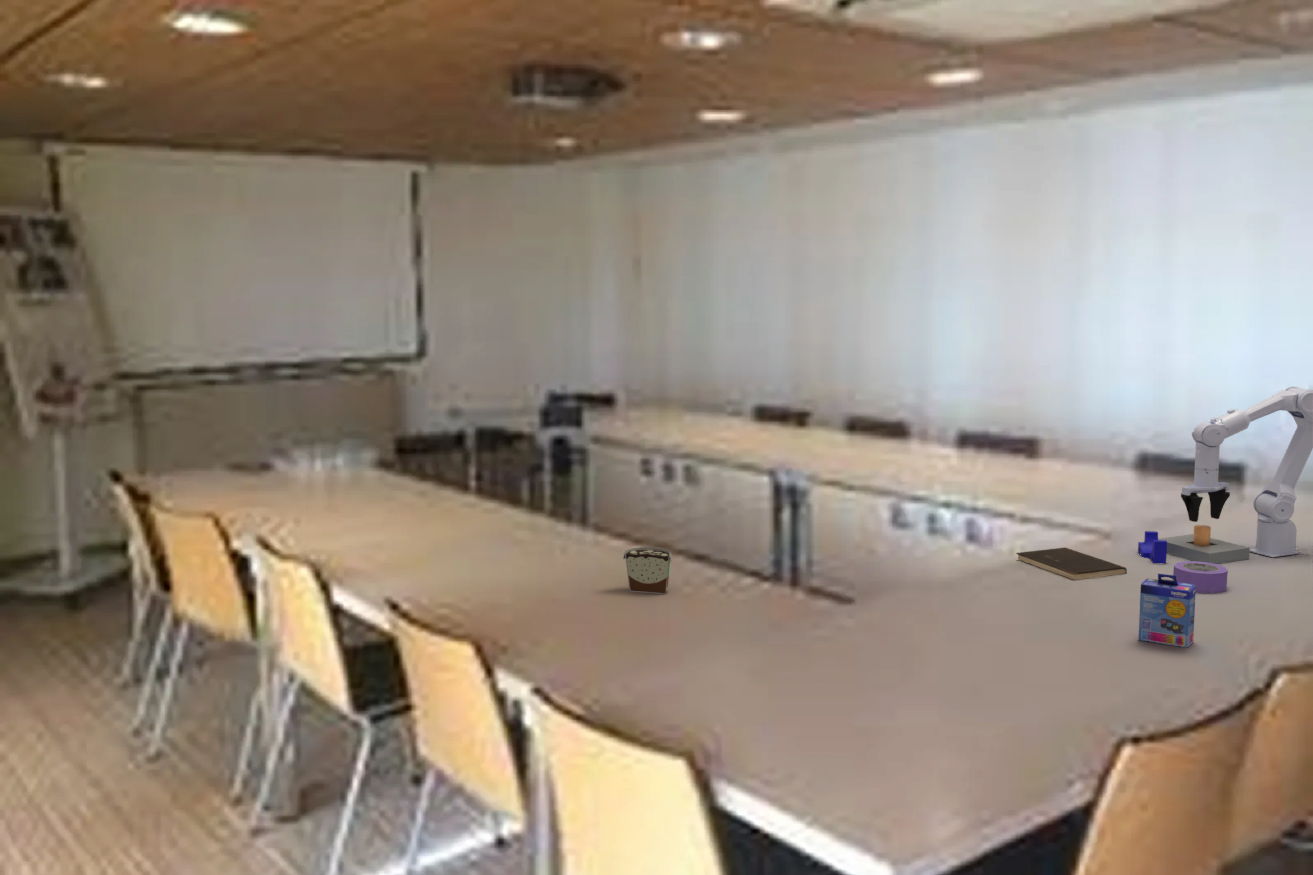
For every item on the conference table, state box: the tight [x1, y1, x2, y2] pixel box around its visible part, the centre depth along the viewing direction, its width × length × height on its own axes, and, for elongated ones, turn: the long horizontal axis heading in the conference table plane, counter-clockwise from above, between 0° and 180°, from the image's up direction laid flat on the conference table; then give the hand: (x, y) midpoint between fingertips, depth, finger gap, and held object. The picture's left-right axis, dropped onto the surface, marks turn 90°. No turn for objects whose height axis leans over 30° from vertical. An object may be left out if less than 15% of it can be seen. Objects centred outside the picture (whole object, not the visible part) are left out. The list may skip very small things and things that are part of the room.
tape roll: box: [1172, 560, 1229, 594], centre depth 291 cm, size 12×12×5 cm
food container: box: [623, 546, 674, 595], centre depth 296 cm, size 12×6×10 cm, turn 71°
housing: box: [1158, 533, 1251, 565], centre depth 322 cm, size 14×18×3 cm
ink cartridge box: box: [1138, 573, 1196, 648], centre depth 250 cm, size 10×6×14 cm, turn 55°
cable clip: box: [1137, 530, 1168, 564], centre depth 319 cm, size 12×4×6 cm, turn 170°
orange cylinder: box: [1193, 524, 1212, 547], centre depth 322 cm, size 4×4×7 cm
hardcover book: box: [1015, 547, 1128, 581], centre depth 312 cm, size 16×23×2 cm
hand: (1204, 519), depth 321 cm, fingers open, 7 cm apart
